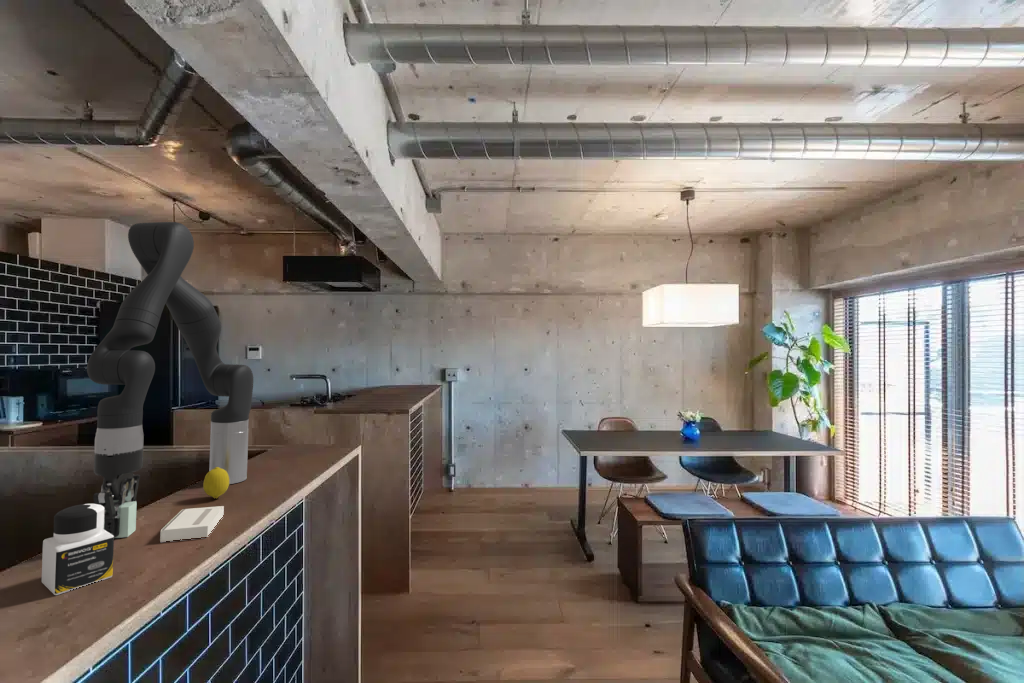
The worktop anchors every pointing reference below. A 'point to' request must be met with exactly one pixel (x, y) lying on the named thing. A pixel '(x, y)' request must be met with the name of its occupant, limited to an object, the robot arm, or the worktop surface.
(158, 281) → the robot arm
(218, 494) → the lemon
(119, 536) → the pale green block
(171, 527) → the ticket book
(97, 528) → the medicine bottle
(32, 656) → the worktop surface
